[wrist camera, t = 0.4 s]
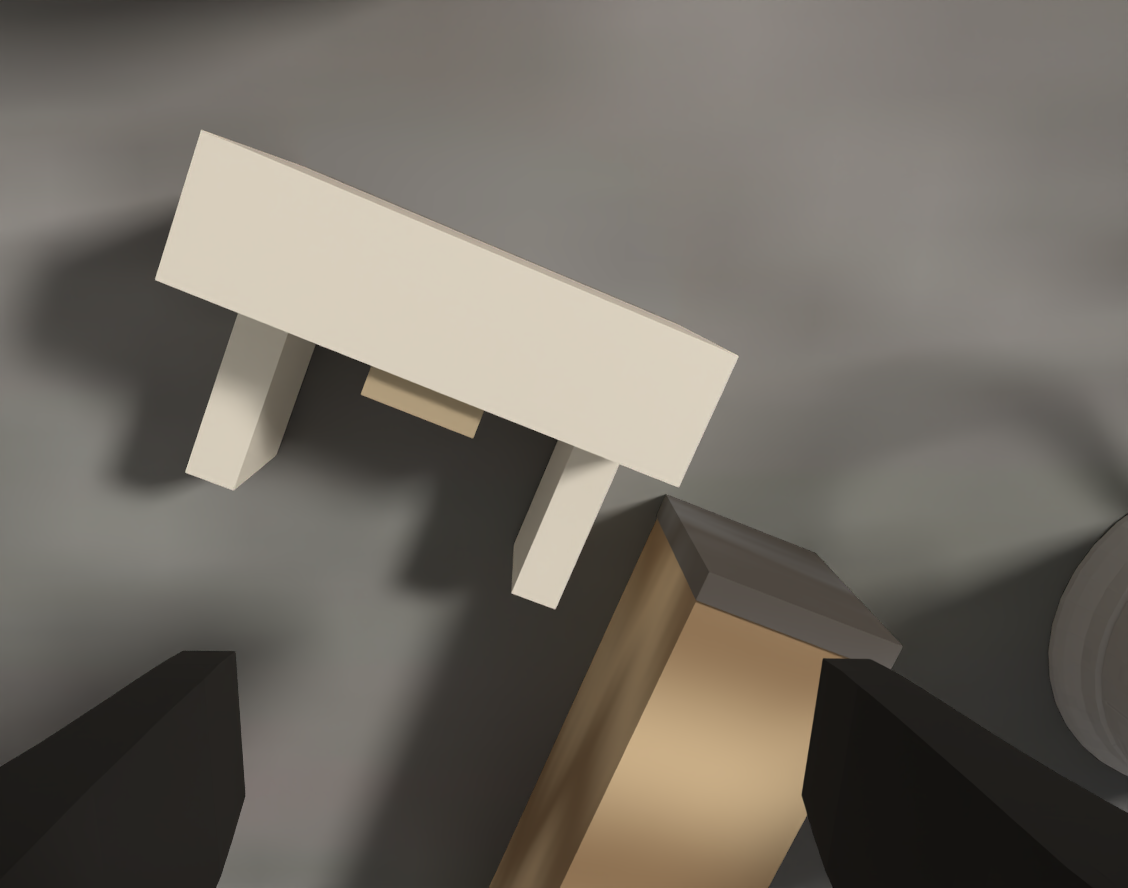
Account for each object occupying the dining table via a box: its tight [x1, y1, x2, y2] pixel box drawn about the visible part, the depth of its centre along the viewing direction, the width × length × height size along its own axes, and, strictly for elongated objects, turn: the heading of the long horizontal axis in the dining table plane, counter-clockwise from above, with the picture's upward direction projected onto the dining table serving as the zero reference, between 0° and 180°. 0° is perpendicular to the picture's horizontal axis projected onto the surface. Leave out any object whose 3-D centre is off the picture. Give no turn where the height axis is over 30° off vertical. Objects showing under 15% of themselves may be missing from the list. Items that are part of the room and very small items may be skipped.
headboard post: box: [155, 130, 739, 609], centre depth 17 cm, size 6×9×6 cm
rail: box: [489, 494, 903, 888], centre depth 20 cm, size 14×4×5 cm, turn 157°
